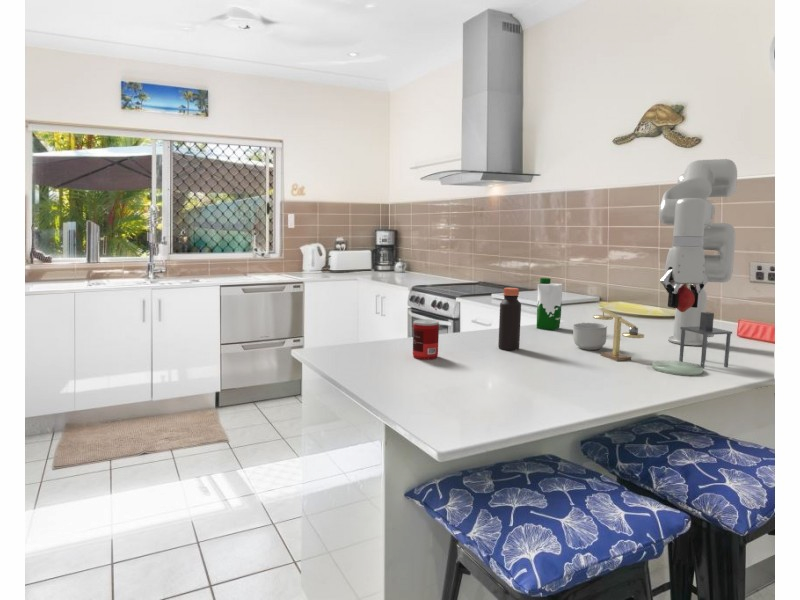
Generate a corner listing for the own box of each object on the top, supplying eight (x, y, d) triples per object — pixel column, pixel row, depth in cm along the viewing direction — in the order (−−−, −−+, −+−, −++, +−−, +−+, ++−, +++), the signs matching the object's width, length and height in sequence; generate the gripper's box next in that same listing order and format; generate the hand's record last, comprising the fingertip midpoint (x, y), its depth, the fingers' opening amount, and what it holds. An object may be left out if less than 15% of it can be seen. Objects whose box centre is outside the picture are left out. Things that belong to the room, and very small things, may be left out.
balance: (587, 351, 185) (590, 307, 183) (603, 350, 187) (606, 306, 185) (629, 366, 165) (632, 316, 163) (646, 365, 167) (650, 316, 165)
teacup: (608, 352, 184) (609, 328, 183) (573, 350, 186) (574, 326, 185) (601, 344, 197) (603, 321, 196) (569, 342, 199) (570, 320, 198)
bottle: (498, 346, 191) (501, 287, 188) (519, 347, 189) (521, 287, 187) (497, 350, 184) (500, 289, 181) (519, 351, 183) (522, 289, 180)
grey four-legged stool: (703, 359, 175) (708, 310, 173) (729, 367, 166) (733, 314, 164) (677, 361, 173) (681, 310, 171) (702, 368, 163) (706, 315, 161)
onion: (684, 314, 156) (686, 285, 155) (666, 311, 161) (668, 283, 160) (698, 312, 159) (700, 284, 158) (679, 310, 164) (681, 282, 163)
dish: (679, 363, 170) (679, 359, 170) (713, 374, 157) (714, 370, 157) (642, 365, 166) (642, 361, 166) (675, 376, 154) (675, 372, 154)
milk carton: (540, 325, 233) (543, 277, 231) (562, 328, 229) (565, 278, 226) (533, 328, 226) (535, 278, 224) (555, 331, 221) (558, 280, 219)
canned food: (440, 355, 175) (441, 320, 174) (433, 360, 167) (434, 324, 166) (417, 353, 177) (418, 318, 176) (409, 358, 170) (409, 322, 169)
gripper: (702, 243, 163) (697, 304, 165) (652, 242, 158) (647, 306, 161) (723, 243, 156) (717, 308, 158) (671, 243, 151) (666, 309, 154)
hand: (682, 306), depth 159 cm, fingers closed on onion, 6 cm apart
